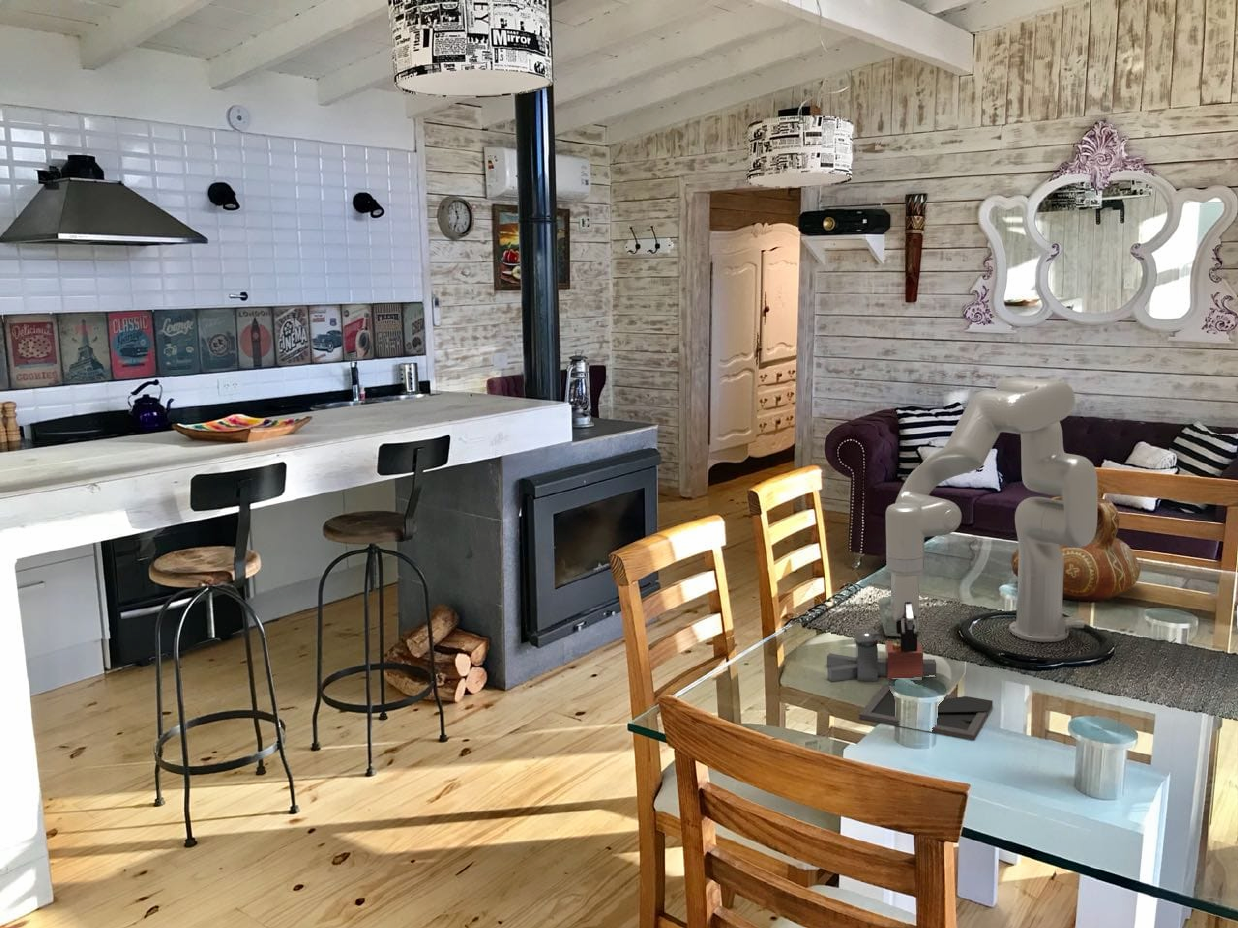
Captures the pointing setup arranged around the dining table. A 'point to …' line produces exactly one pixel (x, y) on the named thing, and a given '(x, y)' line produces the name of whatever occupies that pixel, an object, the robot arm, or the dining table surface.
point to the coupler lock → (903, 661)
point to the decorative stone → (889, 617)
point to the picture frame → (953, 713)
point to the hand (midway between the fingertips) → (906, 641)
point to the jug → (1097, 562)
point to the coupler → (865, 660)
